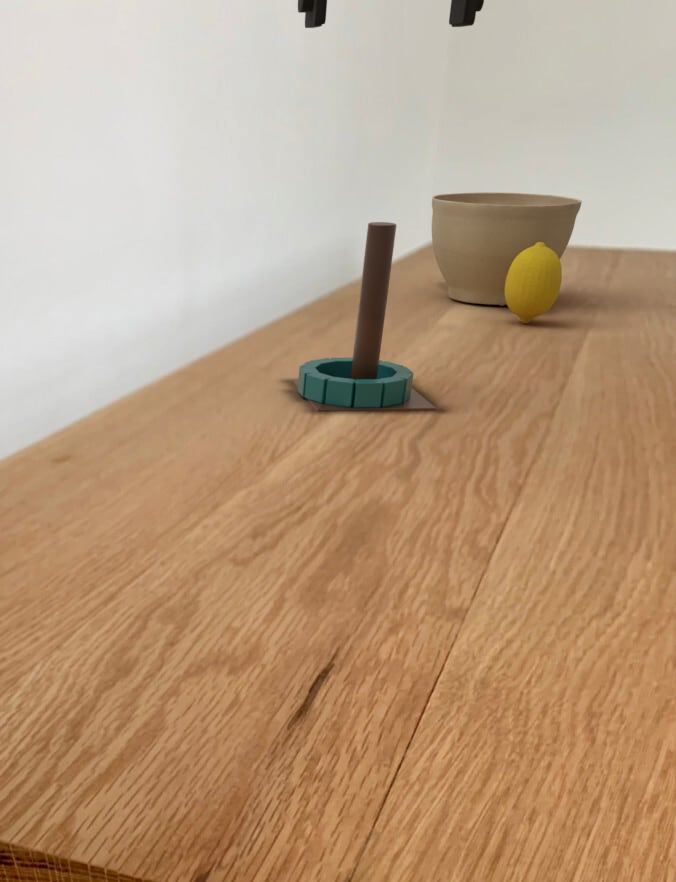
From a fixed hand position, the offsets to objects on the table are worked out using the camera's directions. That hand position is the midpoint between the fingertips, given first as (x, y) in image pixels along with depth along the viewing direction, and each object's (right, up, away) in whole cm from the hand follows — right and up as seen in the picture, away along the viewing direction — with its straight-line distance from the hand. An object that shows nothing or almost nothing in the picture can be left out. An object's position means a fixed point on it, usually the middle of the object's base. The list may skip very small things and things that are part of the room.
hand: (388, 26), depth 72 cm
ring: (+1, -19, +14) cm, 24 cm away
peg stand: (+1, -21, +15) cm, 26 cm away
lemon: (+26, -2, +47) cm, 53 cm away
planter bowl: (+26, +5, +59) cm, 64 cm away
